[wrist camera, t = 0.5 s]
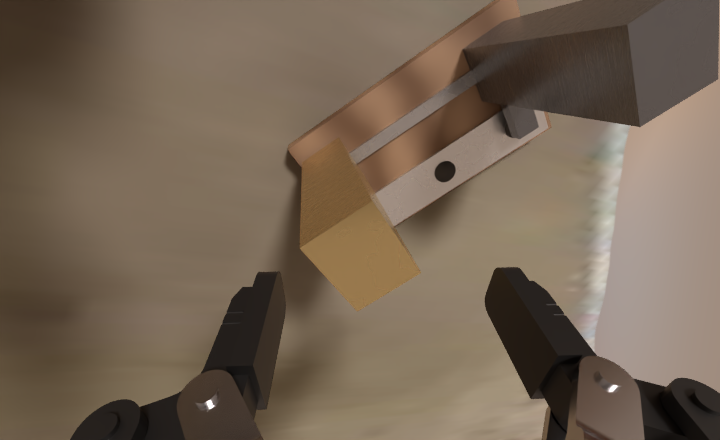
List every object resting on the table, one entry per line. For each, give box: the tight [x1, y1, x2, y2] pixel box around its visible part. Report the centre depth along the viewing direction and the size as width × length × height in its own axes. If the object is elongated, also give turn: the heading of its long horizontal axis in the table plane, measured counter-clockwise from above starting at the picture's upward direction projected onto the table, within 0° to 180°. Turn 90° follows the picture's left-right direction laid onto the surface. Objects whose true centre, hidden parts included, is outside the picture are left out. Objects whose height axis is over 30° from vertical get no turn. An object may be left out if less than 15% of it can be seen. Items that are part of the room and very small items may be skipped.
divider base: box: [288, 0, 719, 227], centre depth 23 cm, size 23×13×17 cm, turn 122°
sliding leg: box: [300, 137, 421, 311], centre depth 22 cm, size 4×10×15 cm, turn 32°
